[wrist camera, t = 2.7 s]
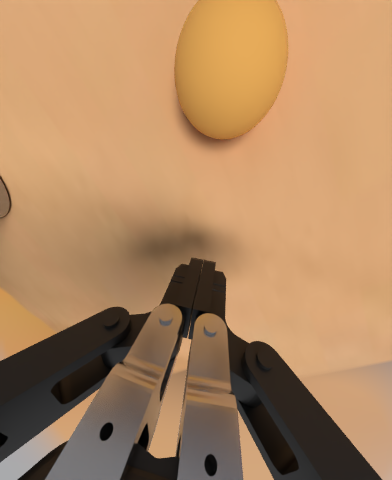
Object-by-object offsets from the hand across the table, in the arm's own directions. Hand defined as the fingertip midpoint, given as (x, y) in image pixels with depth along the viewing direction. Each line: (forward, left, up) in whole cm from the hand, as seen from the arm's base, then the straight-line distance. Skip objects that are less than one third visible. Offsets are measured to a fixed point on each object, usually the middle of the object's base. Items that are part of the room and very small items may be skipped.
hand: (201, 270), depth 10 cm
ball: (0, +10, -5) cm, 11 cm away
